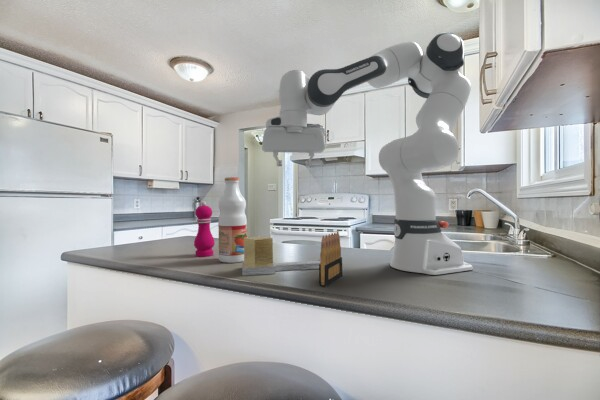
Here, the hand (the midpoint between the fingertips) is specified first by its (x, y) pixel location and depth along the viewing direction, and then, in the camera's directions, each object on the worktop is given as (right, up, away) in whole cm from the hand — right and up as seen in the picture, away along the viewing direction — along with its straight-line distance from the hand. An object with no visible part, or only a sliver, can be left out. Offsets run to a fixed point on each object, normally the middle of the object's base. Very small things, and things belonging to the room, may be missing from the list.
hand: (293, 166), depth 96 cm
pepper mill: (-33, -32, +14) cm, 48 cm away
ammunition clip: (+10, -32, -20) cm, 39 cm away
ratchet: (-1, -31, -8) cm, 32 cm away
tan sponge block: (-10, -29, -9) cm, 32 cm away
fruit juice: (-21, -32, +5) cm, 38 cm away
